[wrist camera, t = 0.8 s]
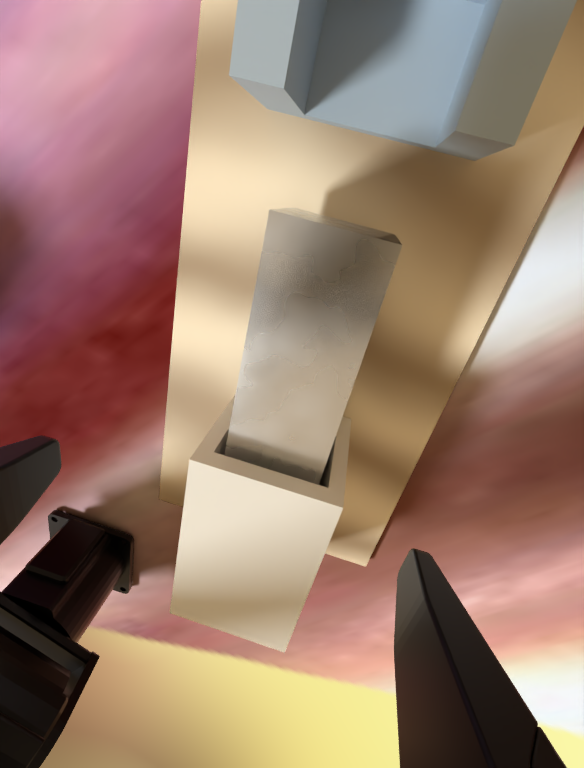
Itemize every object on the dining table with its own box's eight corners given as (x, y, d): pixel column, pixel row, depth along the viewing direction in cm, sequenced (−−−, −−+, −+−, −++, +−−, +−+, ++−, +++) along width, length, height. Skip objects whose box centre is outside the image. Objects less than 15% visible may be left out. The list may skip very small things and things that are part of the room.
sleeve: (305, 546, 24) (284, 652, 18) (216, 517, 25) (169, 613, 19) (351, 419, 20) (343, 508, 14) (241, 386, 20) (189, 459, 14)
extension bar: (293, 535, 22) (279, 598, 19) (229, 514, 22) (202, 573, 19) (394, 234, 14) (402, 245, 11) (294, 207, 15) (269, 209, 11)
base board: (365, 559, 24) (365, 566, 24) (162, 493, 25) (158, 499, 25) (680, -86, 11) (694, -99, 10) (223, -178, 12) (217, -192, 11)
